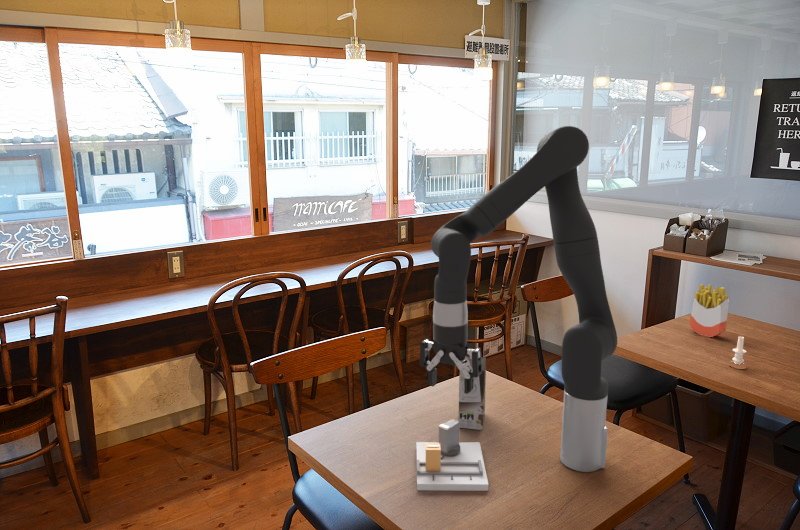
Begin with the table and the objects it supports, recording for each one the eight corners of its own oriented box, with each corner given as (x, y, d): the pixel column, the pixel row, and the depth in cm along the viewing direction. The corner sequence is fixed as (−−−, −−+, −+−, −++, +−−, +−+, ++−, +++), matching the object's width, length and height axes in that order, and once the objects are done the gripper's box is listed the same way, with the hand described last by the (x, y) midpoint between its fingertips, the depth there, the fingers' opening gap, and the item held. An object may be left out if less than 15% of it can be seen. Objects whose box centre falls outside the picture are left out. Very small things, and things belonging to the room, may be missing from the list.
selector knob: (446, 441, 142) (446, 415, 141) (464, 449, 139) (465, 422, 138) (433, 450, 139) (433, 423, 137) (451, 458, 135) (452, 430, 134)
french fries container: (717, 340, 212) (723, 291, 208) (688, 331, 221) (693, 284, 216) (724, 337, 214) (730, 289, 210) (695, 329, 223) (701, 282, 219)
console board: (479, 448, 143) (479, 438, 142) (488, 490, 126) (488, 480, 126) (416, 447, 143) (416, 438, 143) (417, 490, 127) (417, 479, 126)
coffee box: (483, 430, 151) (484, 370, 147) (457, 428, 152) (458, 368, 149) (485, 413, 160) (487, 356, 156) (461, 411, 161) (462, 355, 157)
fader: (439, 464, 133) (440, 442, 132) (440, 471, 130) (440, 449, 129) (425, 464, 133) (425, 442, 132) (425, 471, 130) (425, 449, 129)
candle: (750, 369, 187) (754, 338, 184) (733, 369, 187) (737, 338, 184) (741, 363, 192) (745, 332, 189) (724, 363, 192) (728, 332, 190)
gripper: (487, 319, 131) (486, 388, 134) (429, 310, 138) (429, 376, 141) (473, 329, 124) (472, 402, 128) (413, 319, 131) (414, 388, 135)
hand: (450, 388), depth 135 cm, fingers open, 8 cm apart
